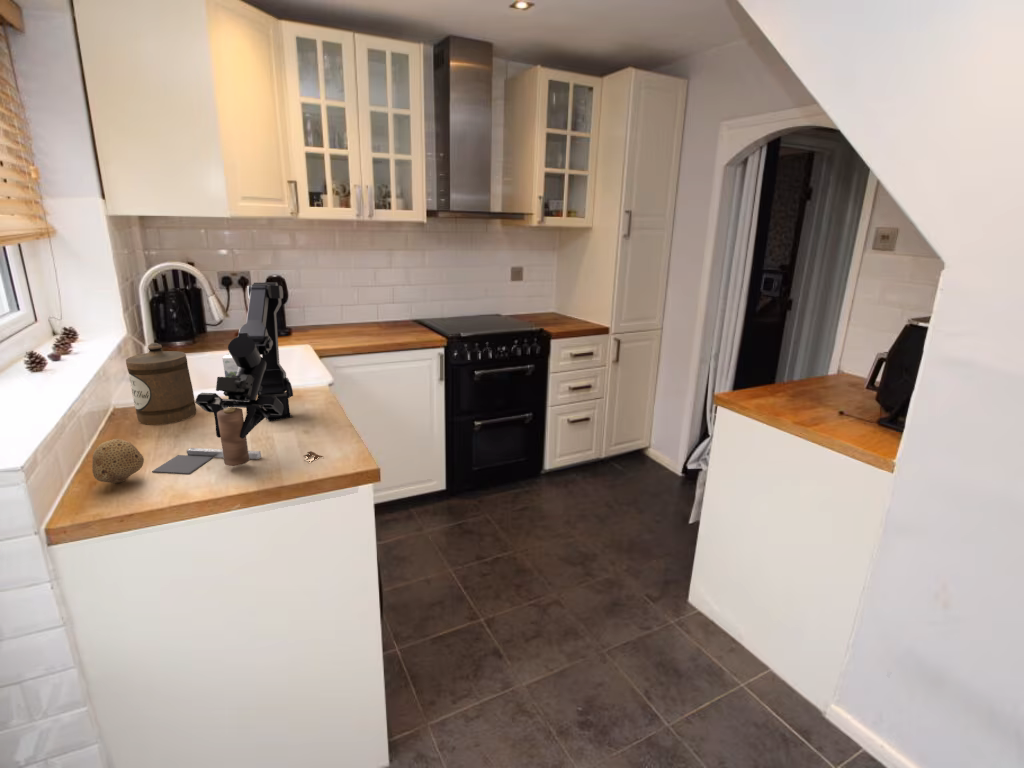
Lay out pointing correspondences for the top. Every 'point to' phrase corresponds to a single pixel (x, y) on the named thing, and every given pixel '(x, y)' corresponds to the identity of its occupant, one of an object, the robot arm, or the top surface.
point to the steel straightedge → (218, 453)
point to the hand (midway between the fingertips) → (229, 437)
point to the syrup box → (229, 366)
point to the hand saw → (313, 454)
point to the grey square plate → (182, 464)
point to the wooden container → (161, 386)
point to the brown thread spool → (232, 436)
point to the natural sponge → (116, 461)
